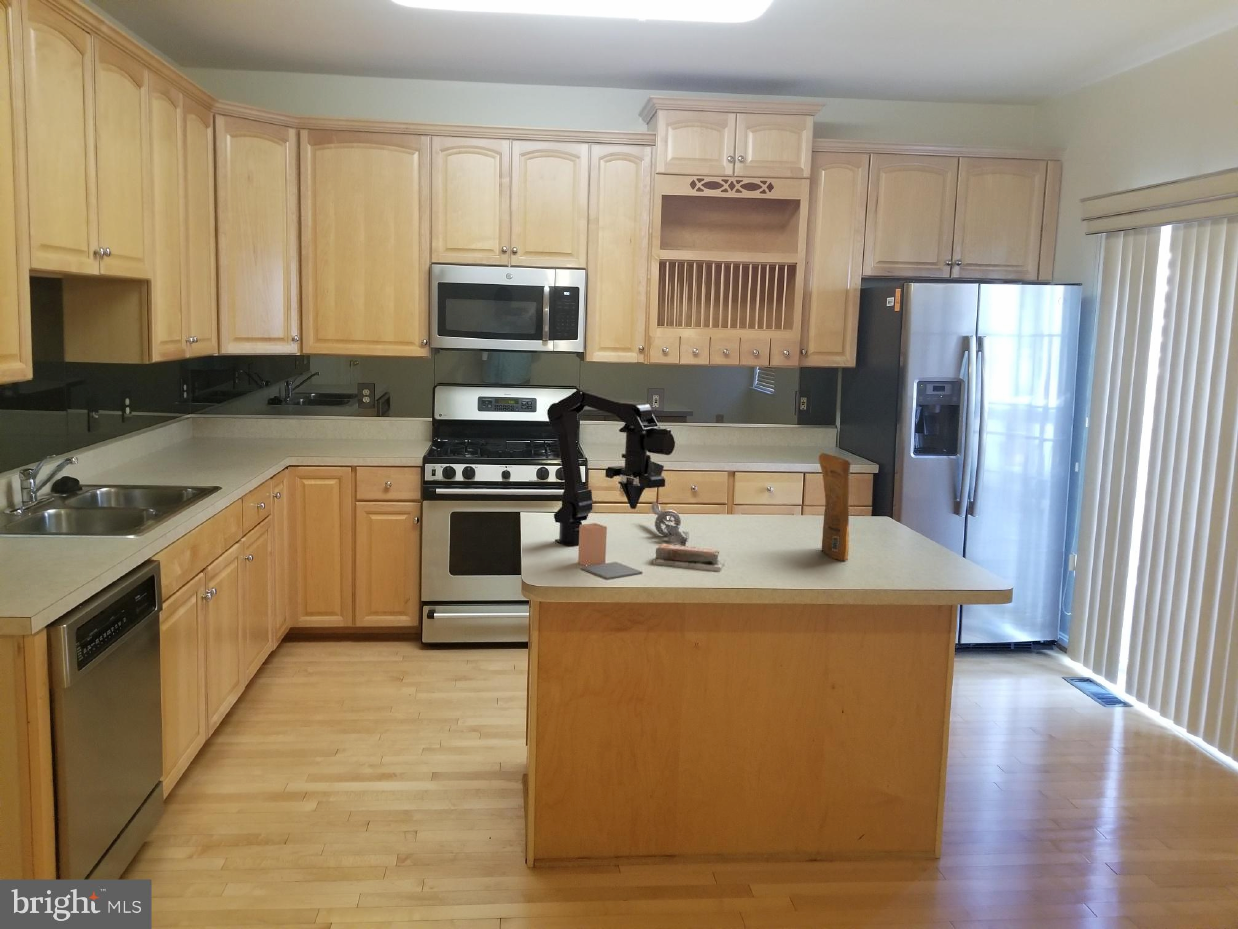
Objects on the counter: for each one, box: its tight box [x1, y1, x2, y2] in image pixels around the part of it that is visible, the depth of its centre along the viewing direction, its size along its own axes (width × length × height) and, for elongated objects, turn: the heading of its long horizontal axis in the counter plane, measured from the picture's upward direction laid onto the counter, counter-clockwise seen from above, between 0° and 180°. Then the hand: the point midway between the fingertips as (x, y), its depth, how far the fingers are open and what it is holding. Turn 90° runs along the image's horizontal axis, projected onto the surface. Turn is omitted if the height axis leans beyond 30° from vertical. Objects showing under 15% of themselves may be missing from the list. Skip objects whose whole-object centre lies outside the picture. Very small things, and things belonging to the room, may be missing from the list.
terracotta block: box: [577, 522, 608, 566], centre depth 256 cm, size 5×5×10 cm
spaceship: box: [650, 502, 690, 546], centre depth 291 cm, size 8×35×8 cm
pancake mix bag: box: [818, 452, 852, 562], centre depth 277 cm, size 7×19×28 cm, turn 6°
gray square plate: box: [580, 561, 643, 580], centre depth 250 cm, size 11×11×1 cm
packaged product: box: [652, 543, 727, 572], centre depth 261 cm, size 18×5×10 cm
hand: (633, 508), depth 264 cm, fingers closed
